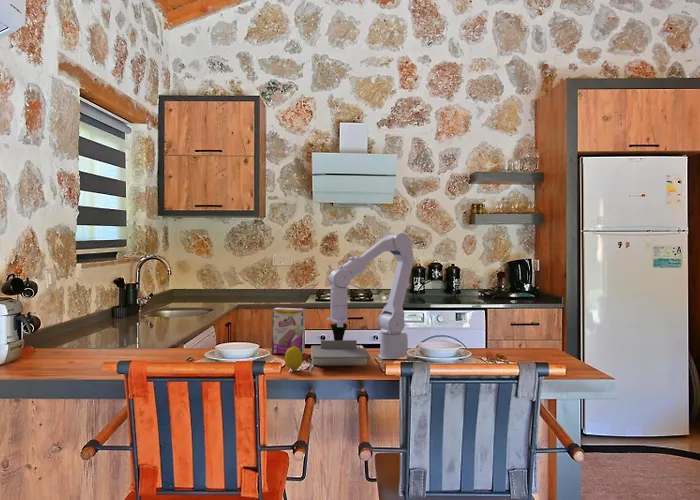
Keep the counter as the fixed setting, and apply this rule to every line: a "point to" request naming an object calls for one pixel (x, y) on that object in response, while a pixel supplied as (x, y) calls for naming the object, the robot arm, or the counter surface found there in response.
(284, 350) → the candy bar box
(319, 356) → the lid
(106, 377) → the counter surface
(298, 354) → the lemon
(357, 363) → the mailer box
